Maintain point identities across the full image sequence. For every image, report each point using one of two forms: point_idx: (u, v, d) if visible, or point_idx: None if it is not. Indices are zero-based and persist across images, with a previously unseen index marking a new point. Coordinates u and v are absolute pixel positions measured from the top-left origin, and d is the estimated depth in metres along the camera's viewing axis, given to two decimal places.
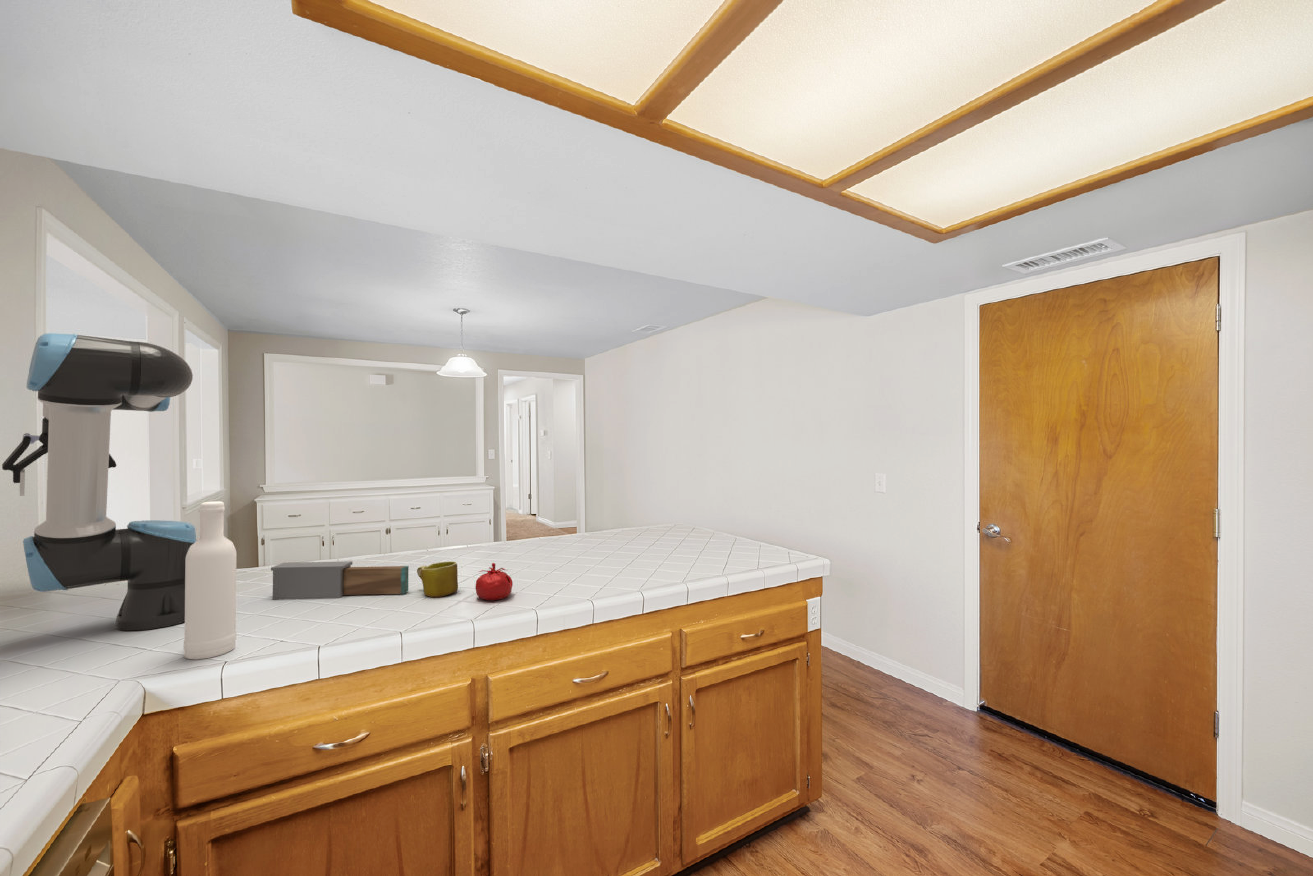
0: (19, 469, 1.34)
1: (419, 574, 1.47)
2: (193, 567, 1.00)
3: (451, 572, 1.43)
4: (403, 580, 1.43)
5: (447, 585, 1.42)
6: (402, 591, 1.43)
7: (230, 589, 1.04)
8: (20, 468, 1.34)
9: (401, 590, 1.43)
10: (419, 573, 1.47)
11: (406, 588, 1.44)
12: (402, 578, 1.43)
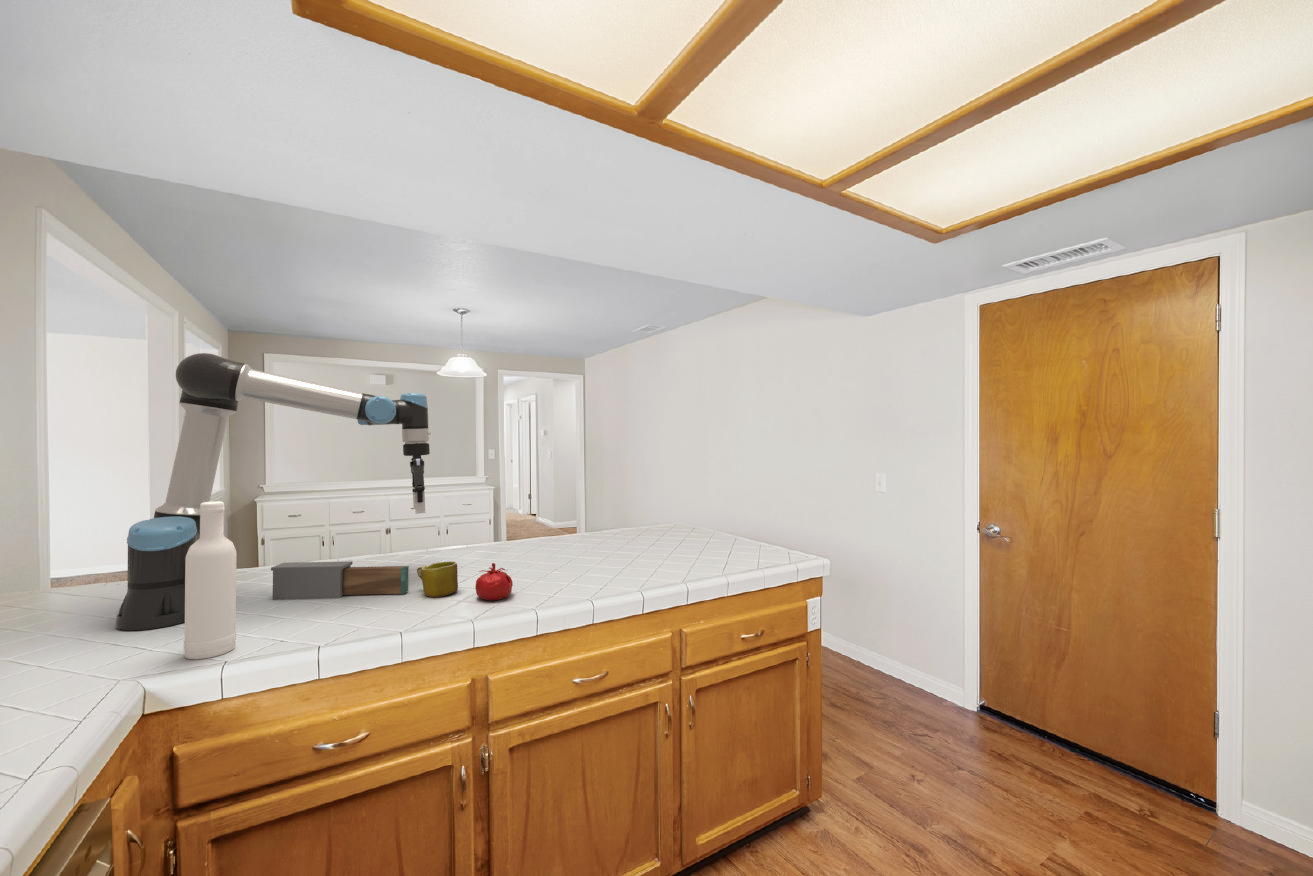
0: (412, 485, 1.69)
1: (419, 574, 1.47)
2: (193, 567, 1.00)
3: (451, 572, 1.43)
4: (403, 580, 1.43)
5: (447, 585, 1.42)
6: (402, 591, 1.43)
7: (230, 589, 1.04)
8: None
9: (401, 590, 1.43)
10: (419, 573, 1.47)
11: (406, 588, 1.44)
12: (402, 578, 1.43)
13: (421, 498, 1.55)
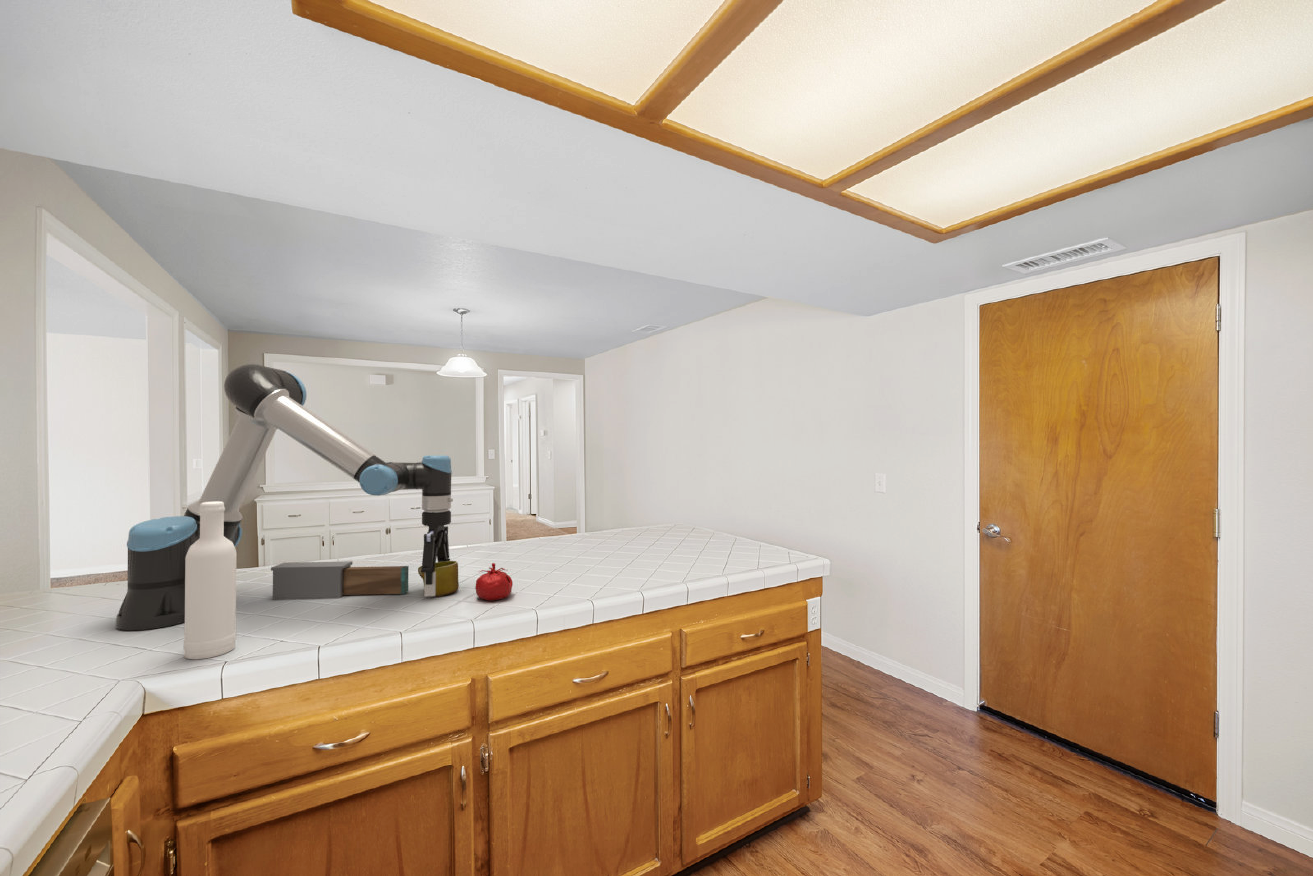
0: (437, 559, 1.51)
1: (420, 573, 1.47)
2: (193, 567, 1.00)
3: (452, 571, 1.43)
4: (403, 580, 1.43)
5: (448, 584, 1.42)
6: (402, 591, 1.43)
7: (230, 589, 1.04)
8: None
9: (401, 590, 1.43)
10: (420, 572, 1.47)
11: (406, 588, 1.44)
12: (402, 578, 1.43)
13: (429, 580, 1.39)
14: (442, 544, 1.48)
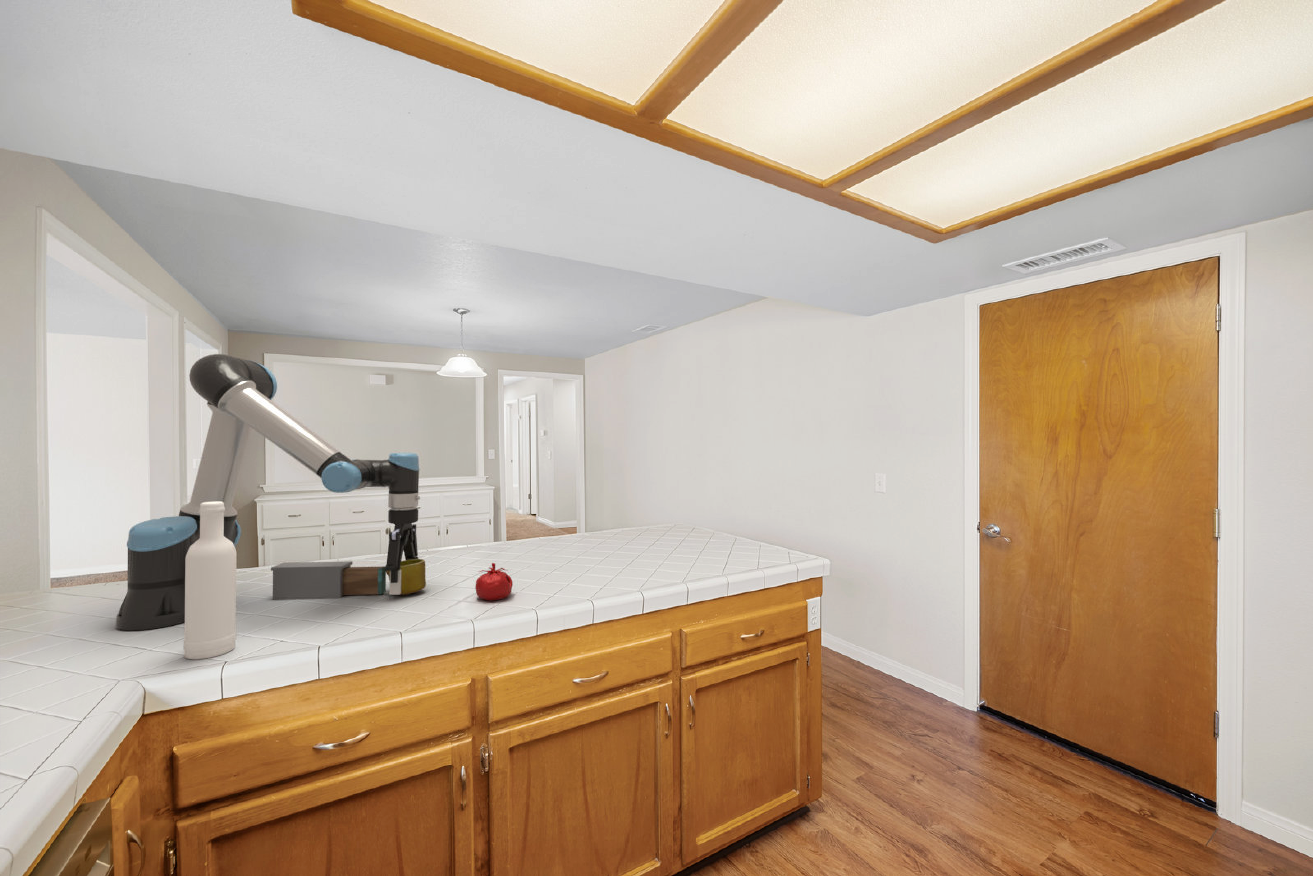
0: None
1: (387, 571, 1.46)
2: (193, 567, 1.00)
3: (418, 569, 1.42)
4: (380, 580, 1.42)
5: (414, 583, 1.41)
6: (379, 591, 1.42)
7: (230, 589, 1.04)
8: None
9: (378, 590, 1.42)
10: None
11: (383, 589, 1.44)
12: (379, 578, 1.43)
13: (394, 578, 1.38)
14: (409, 542, 1.47)
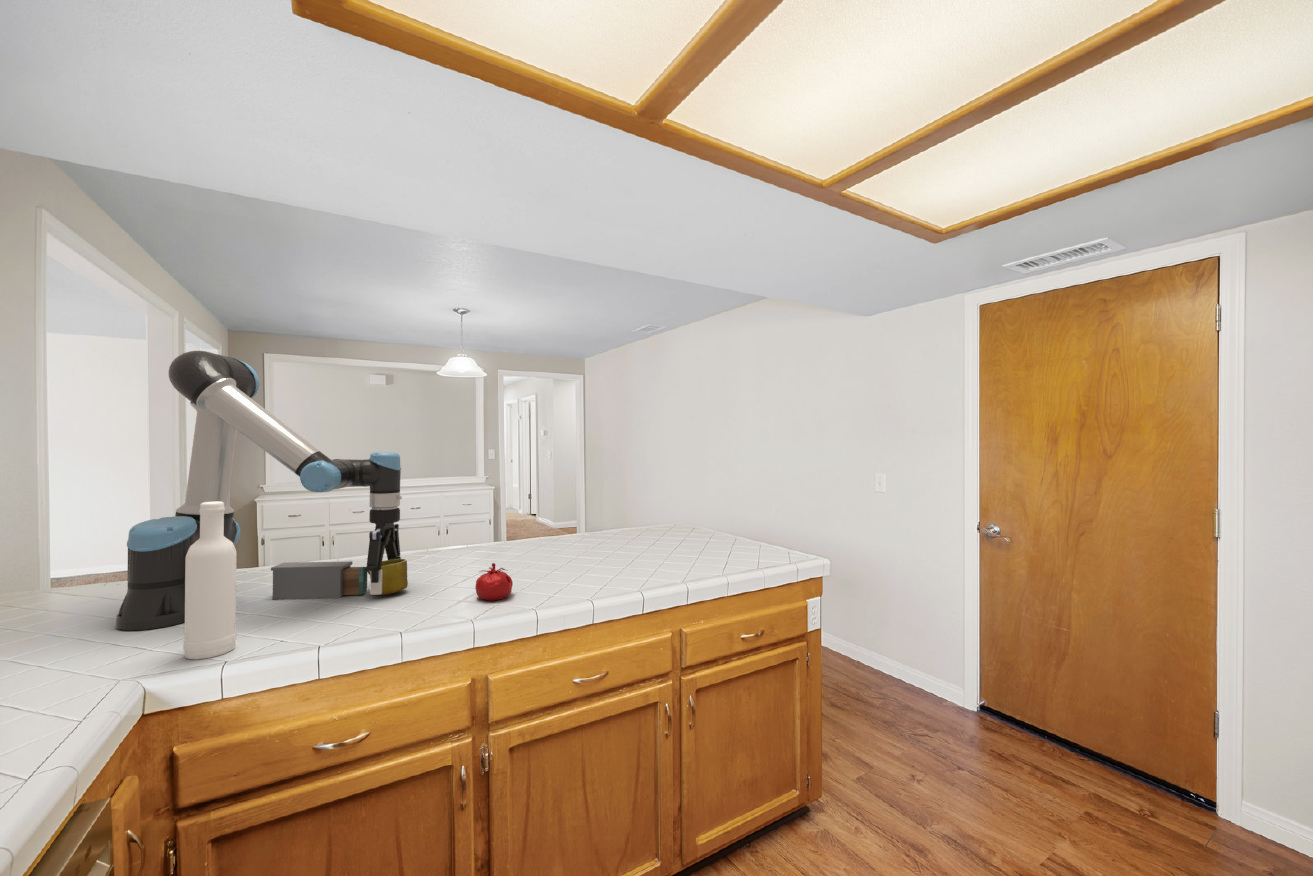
0: None
1: (369, 571, 1.46)
2: (193, 567, 1.00)
3: (399, 569, 1.42)
4: (361, 581, 1.42)
5: (395, 582, 1.41)
6: (360, 592, 1.42)
7: (230, 589, 1.04)
8: None
9: (359, 591, 1.42)
10: None
11: (365, 589, 1.43)
12: (360, 579, 1.42)
13: (375, 578, 1.37)
14: (391, 542, 1.46)
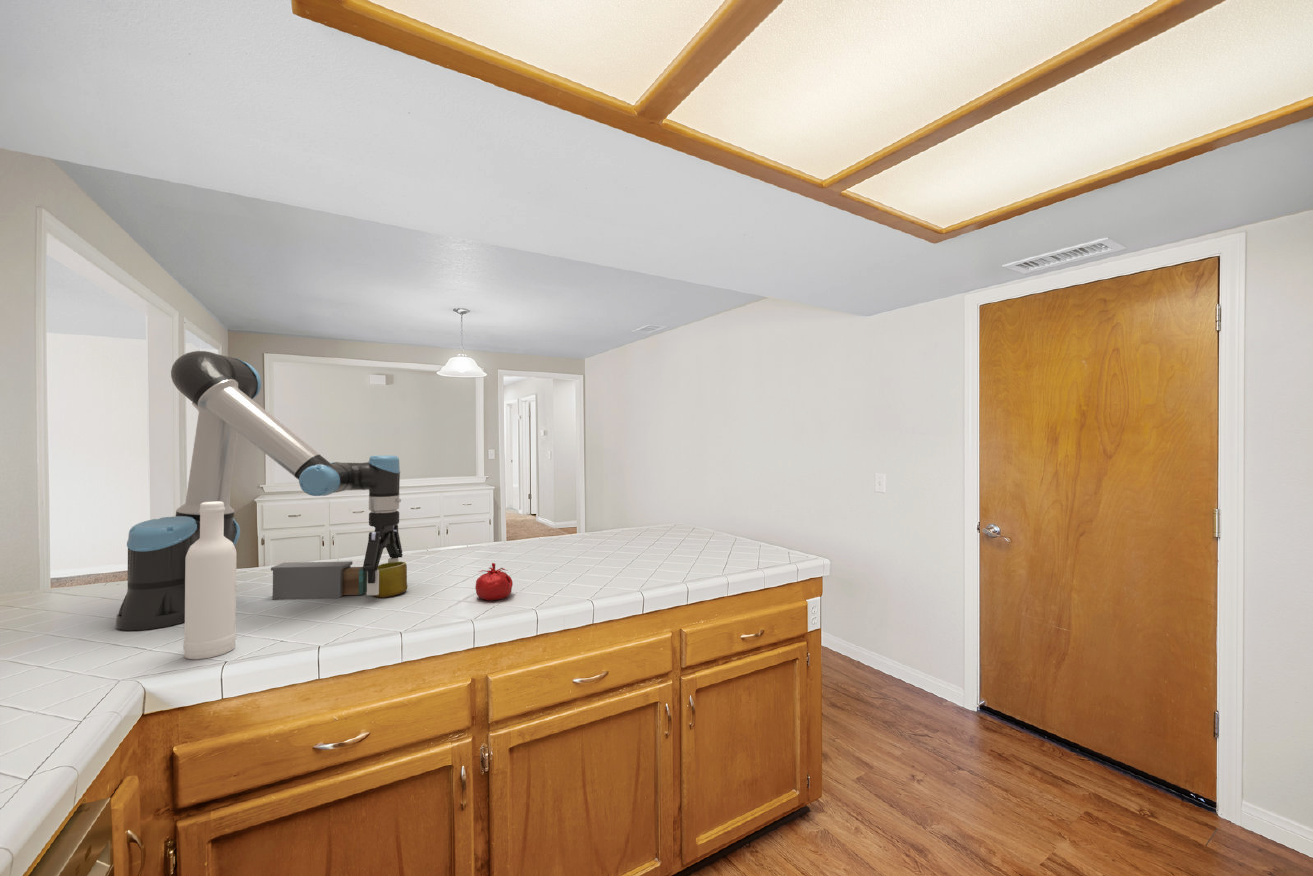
0: None
1: None
2: (193, 567, 1.00)
3: (399, 572, 1.42)
4: (361, 581, 1.42)
5: (394, 585, 1.41)
6: (360, 592, 1.42)
7: (230, 589, 1.04)
8: None
9: (359, 591, 1.42)
10: None
11: (364, 589, 1.43)
12: (360, 579, 1.42)
13: (372, 578, 1.36)
14: (392, 543, 1.47)
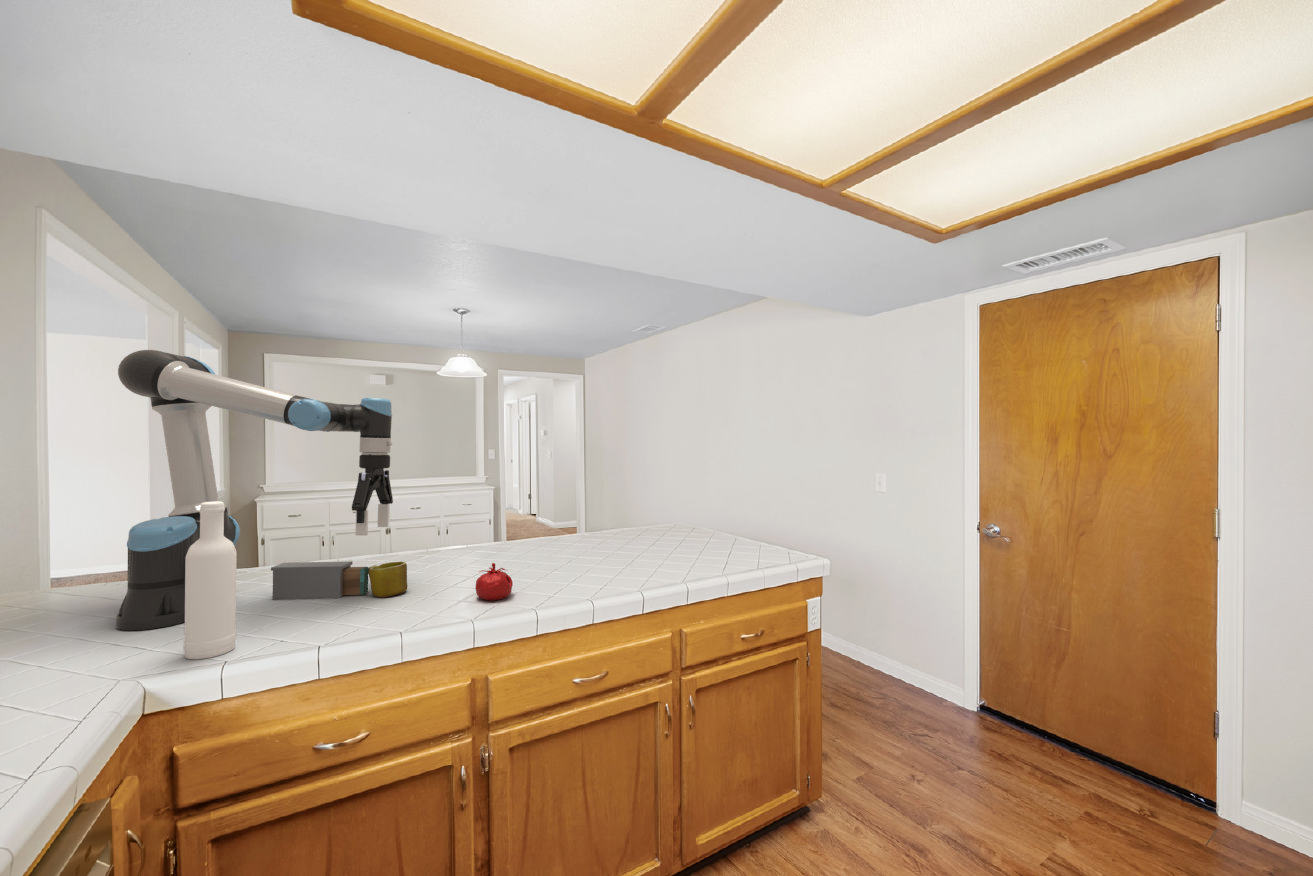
0: None
1: None
2: (193, 567, 1.00)
3: (398, 572, 1.42)
4: (362, 581, 1.42)
5: (394, 585, 1.41)
6: (361, 592, 1.42)
7: (230, 589, 1.04)
8: None
9: (360, 591, 1.42)
10: None
11: (365, 589, 1.43)
12: (361, 579, 1.42)
13: (361, 518, 1.35)
14: (382, 488, 1.46)
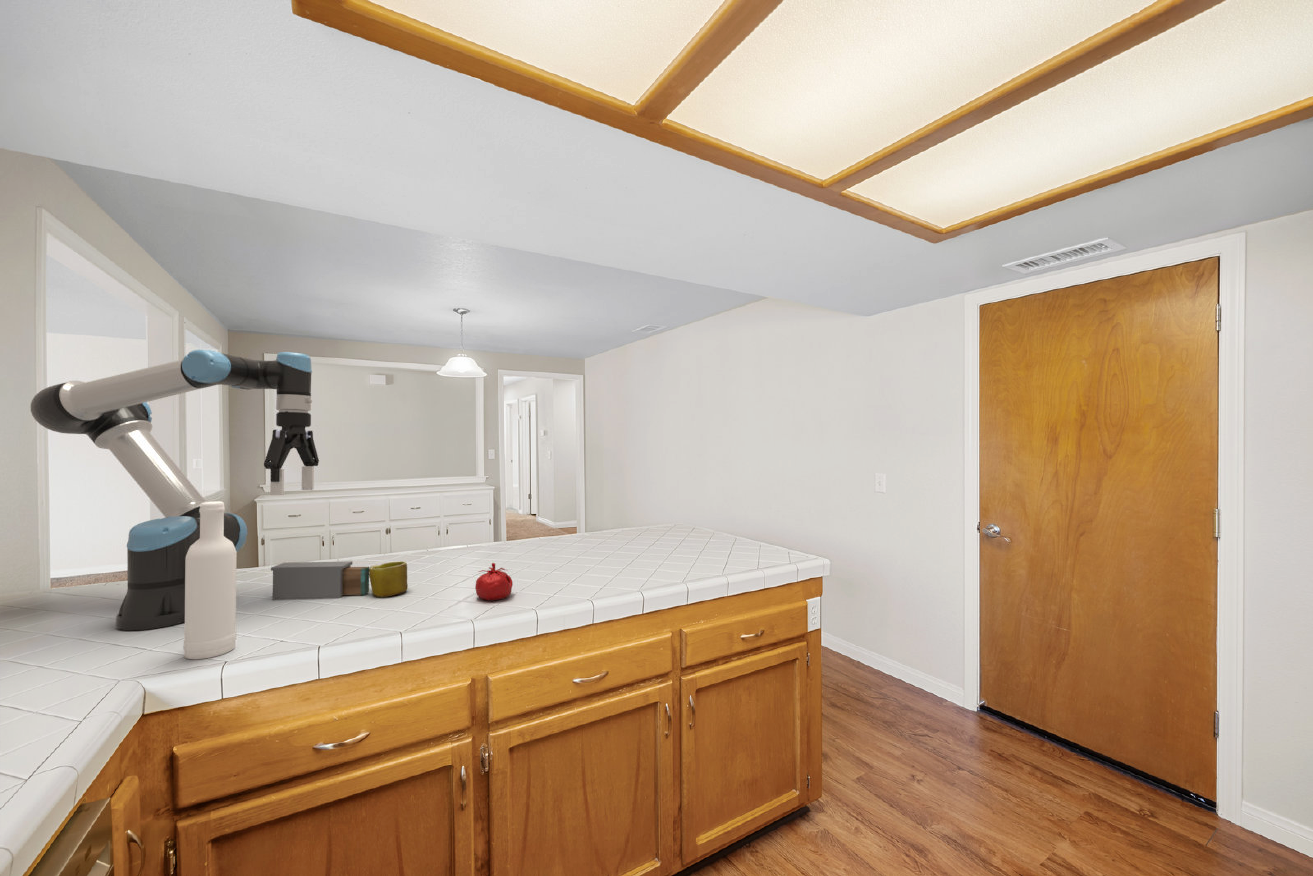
0: None
1: None
2: (193, 567, 1.00)
3: (398, 572, 1.42)
4: (363, 581, 1.42)
5: (393, 585, 1.41)
6: (362, 592, 1.42)
7: (230, 589, 1.04)
8: None
9: (361, 591, 1.42)
10: None
11: (366, 589, 1.43)
12: (362, 579, 1.42)
13: (275, 477, 1.29)
14: (304, 448, 1.40)
